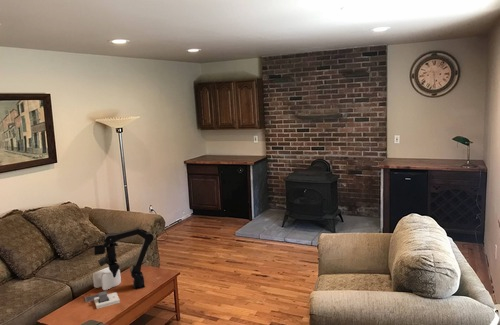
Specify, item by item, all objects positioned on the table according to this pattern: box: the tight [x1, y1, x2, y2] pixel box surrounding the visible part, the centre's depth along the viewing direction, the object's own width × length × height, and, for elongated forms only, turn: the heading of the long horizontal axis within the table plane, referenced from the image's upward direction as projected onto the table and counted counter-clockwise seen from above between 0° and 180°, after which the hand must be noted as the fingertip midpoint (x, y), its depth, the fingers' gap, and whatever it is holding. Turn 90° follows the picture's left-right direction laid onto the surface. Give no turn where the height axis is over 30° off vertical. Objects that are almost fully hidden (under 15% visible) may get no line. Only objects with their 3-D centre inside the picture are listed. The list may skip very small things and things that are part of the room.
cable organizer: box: [92, 266, 122, 291], centre depth 277 cm, size 15×11×12 cm
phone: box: [84, 291, 109, 303], centre depth 262 cm, size 7×14×1 cm, turn 117°
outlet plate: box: [93, 292, 121, 310], centre depth 256 cm, size 14×12×2 cm
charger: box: [98, 290, 108, 303], centre depth 254 cm, size 5×4×6 cm
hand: (113, 274), depth 268 cm, fingers open, 9 cm apart
